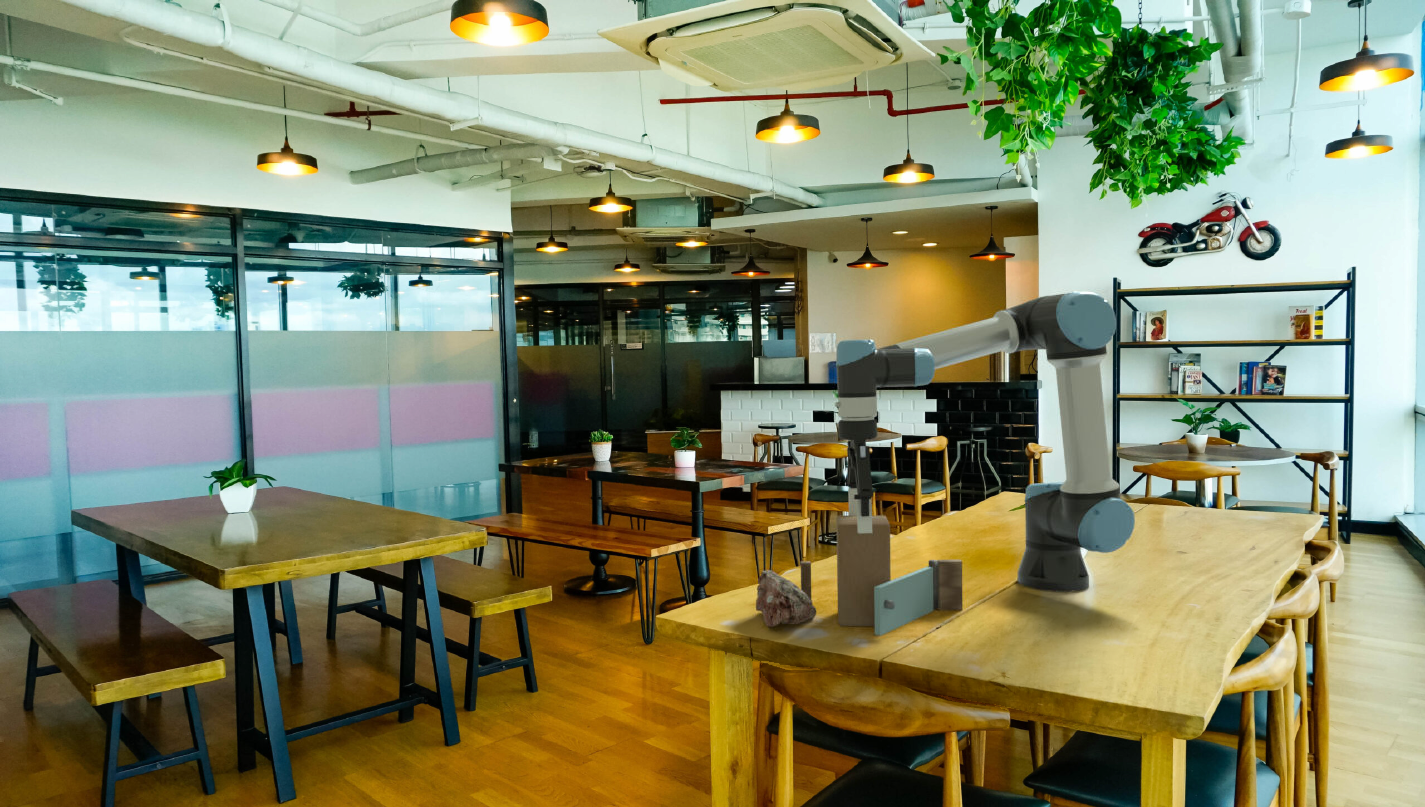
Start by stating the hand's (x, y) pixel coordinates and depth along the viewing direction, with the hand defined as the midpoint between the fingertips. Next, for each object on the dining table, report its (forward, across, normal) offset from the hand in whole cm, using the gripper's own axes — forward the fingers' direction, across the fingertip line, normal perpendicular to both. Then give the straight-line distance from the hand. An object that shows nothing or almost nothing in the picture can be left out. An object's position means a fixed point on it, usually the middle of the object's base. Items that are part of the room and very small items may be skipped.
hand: (860, 526), depth 176 cm
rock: (+19, 0, -16) cm, 24 cm away
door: (+19, +2, +9) cm, 21 cm away
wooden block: (+19, 0, 0) cm, 19 cm away
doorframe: (+19, -7, +5) cm, 21 cm away
